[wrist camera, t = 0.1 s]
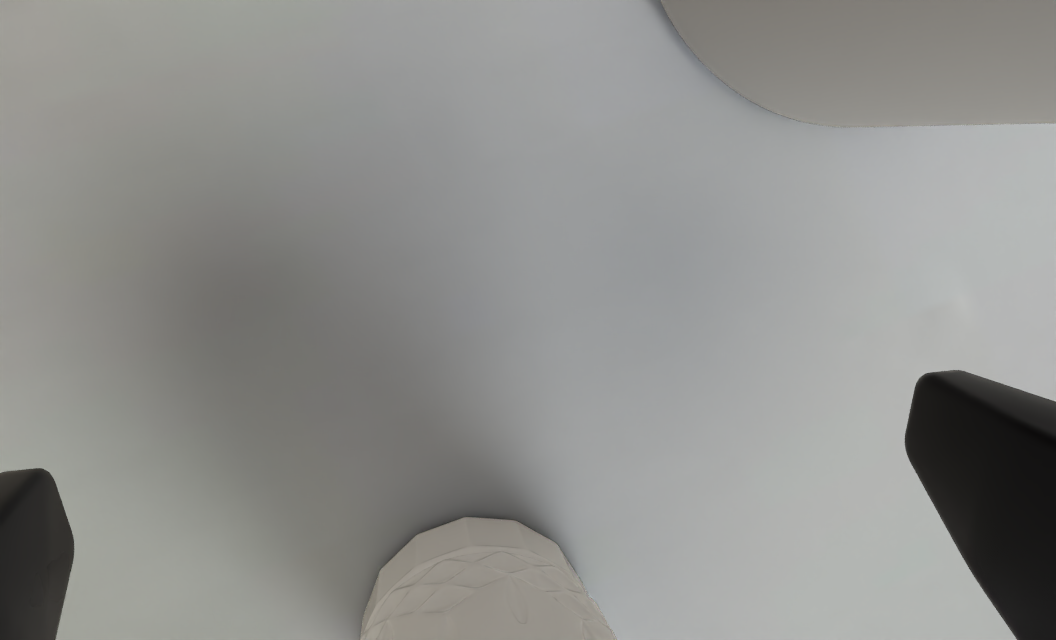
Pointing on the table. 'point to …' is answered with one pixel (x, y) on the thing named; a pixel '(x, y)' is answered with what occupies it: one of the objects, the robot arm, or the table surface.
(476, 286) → the table surface
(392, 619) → the white cup
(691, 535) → the table surface
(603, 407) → the table surface
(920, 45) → the cylinder vase
